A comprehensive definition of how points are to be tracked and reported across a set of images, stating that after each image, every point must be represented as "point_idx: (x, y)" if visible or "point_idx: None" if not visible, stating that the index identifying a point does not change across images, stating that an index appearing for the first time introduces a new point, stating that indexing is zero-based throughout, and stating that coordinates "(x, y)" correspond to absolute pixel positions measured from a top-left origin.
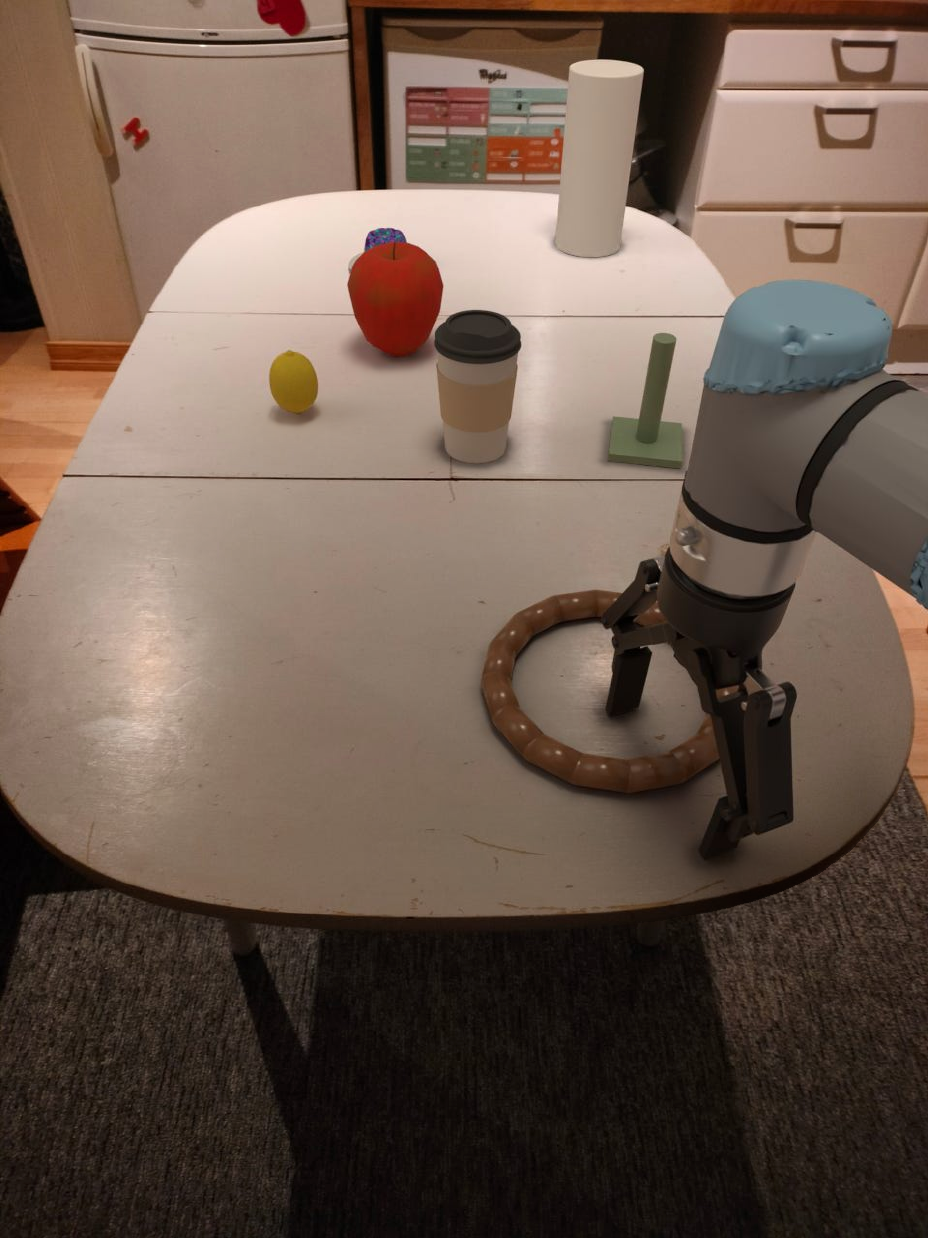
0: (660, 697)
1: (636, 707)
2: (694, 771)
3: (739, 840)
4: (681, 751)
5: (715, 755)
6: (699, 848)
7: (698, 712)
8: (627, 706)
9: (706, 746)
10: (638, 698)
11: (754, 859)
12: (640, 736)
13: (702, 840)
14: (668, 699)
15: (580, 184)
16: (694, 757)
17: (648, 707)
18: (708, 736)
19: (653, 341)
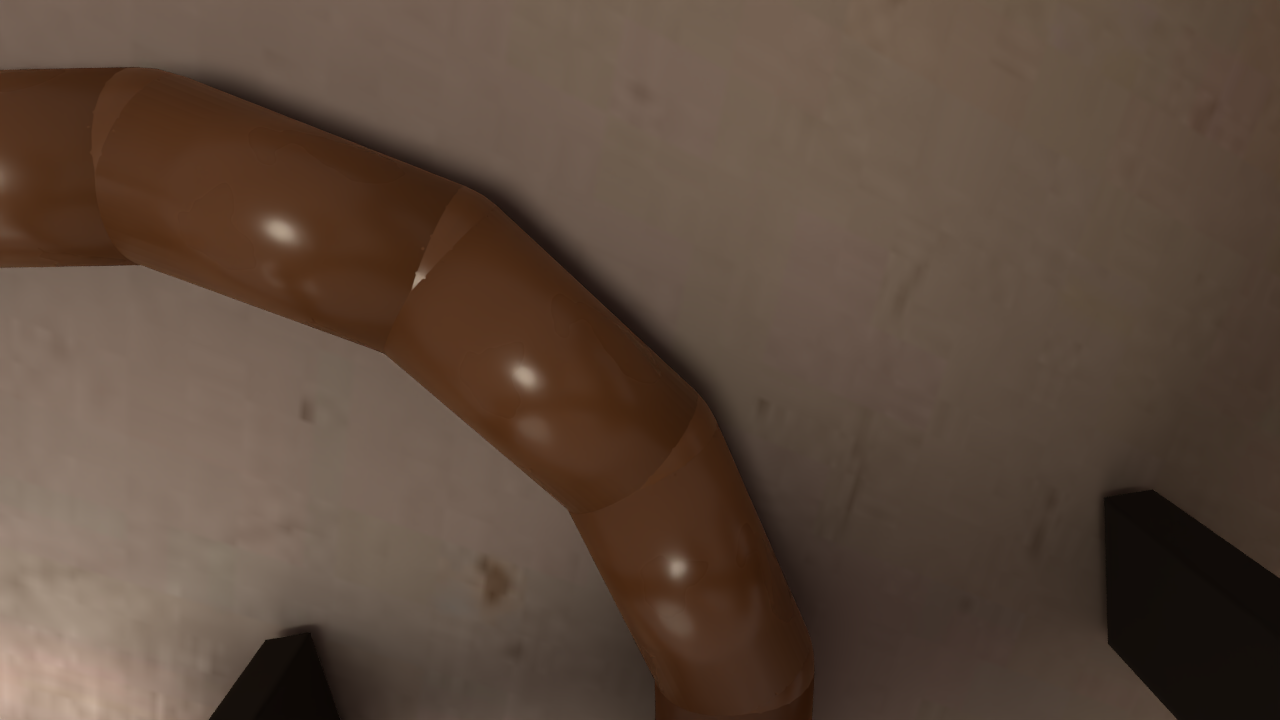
0: (243, 499)
1: (311, 649)
2: (790, 596)
3: (1192, 519)
4: (702, 677)
5: (731, 473)
6: (1119, 655)
7: (359, 349)
8: (315, 717)
9: (697, 541)
10: (282, 697)
11: (1218, 427)
12: (476, 659)
13: (1164, 704)
14: (259, 465)
15: None
16: (748, 618)
17: (305, 574)
18: (634, 509)
19: None
